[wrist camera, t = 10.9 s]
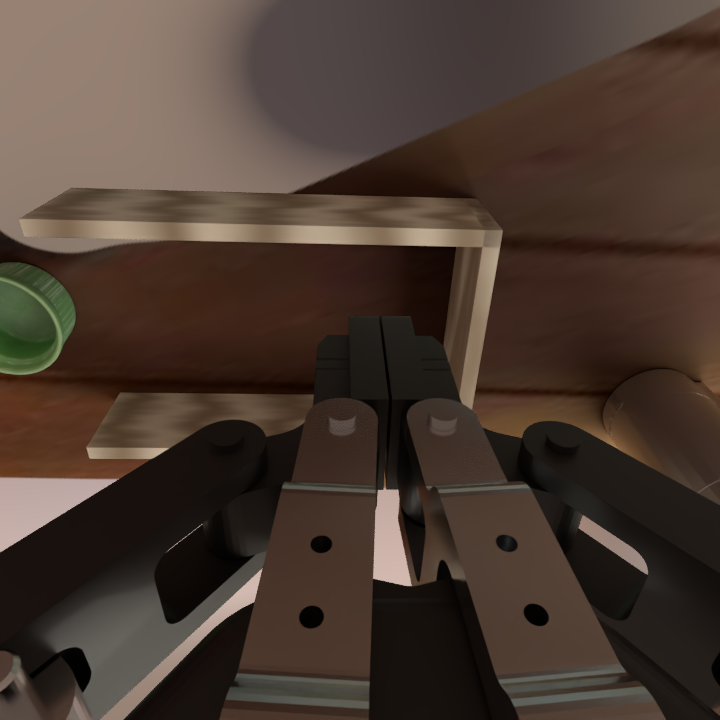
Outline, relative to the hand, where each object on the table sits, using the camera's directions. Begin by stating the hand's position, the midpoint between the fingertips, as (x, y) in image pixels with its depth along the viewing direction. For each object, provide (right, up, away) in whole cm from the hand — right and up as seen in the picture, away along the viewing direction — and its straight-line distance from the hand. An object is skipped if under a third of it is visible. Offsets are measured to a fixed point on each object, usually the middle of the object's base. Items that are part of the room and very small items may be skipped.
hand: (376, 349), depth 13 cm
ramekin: (-29, +5, +34) cm, 45 cm away
